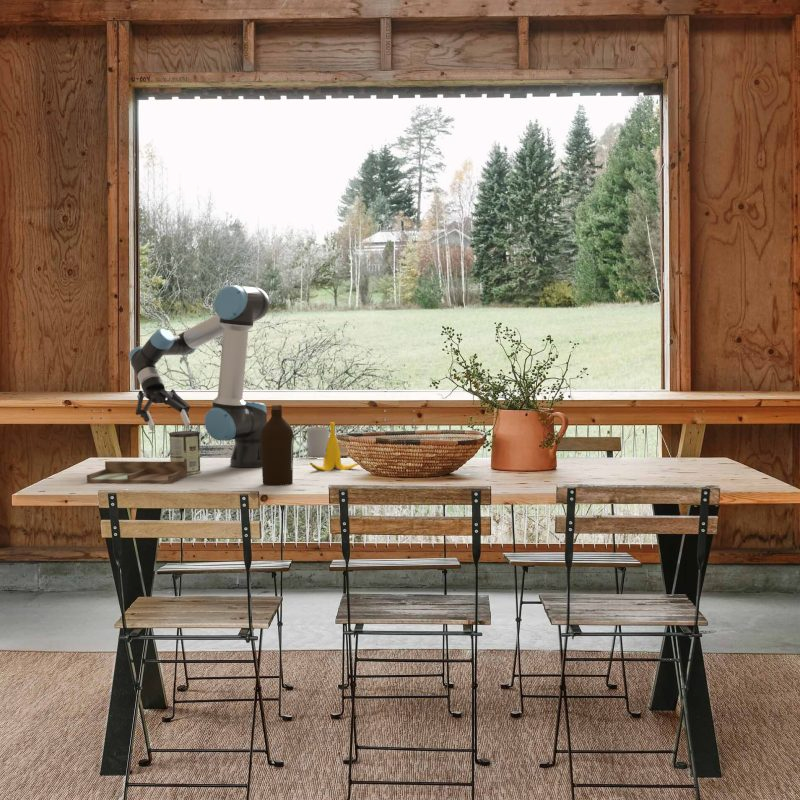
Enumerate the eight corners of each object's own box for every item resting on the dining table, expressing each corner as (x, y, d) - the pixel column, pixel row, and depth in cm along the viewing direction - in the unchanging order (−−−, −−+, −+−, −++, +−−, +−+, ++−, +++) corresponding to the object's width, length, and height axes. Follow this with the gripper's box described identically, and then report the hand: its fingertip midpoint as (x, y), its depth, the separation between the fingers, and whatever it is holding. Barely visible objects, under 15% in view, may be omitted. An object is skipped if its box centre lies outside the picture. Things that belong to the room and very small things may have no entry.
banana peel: (309, 472, 338) (308, 424, 337) (324, 465, 357) (323, 419, 356) (355, 473, 335) (355, 424, 334) (368, 466, 354) (368, 420, 352)
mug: (323, 457, 379) (323, 429, 378) (303, 457, 382) (303, 428, 381) (336, 454, 390) (335, 426, 390) (316, 453, 393) (316, 426, 392)
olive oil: (264, 487, 305) (263, 406, 303) (257, 482, 315) (256, 404, 313) (298, 485, 308) (296, 405, 307) (290, 480, 318) (288, 403, 317)
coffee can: (180, 470, 346) (179, 430, 345) (206, 471, 342) (205, 431, 341) (164, 474, 336) (163, 433, 335) (190, 475, 333) (189, 434, 332)
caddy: (187, 476, 330) (186, 461, 330) (171, 483, 314) (171, 467, 314) (106, 475, 333) (106, 461, 332) (87, 482, 317) (86, 467, 316)
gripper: (179, 388, 366) (199, 431, 356) (115, 391, 351) (134, 435, 340) (185, 374, 362) (206, 417, 351) (121, 376, 346) (140, 421, 336)
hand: (170, 426), depth 346 cm, fingers open, 13 cm apart
